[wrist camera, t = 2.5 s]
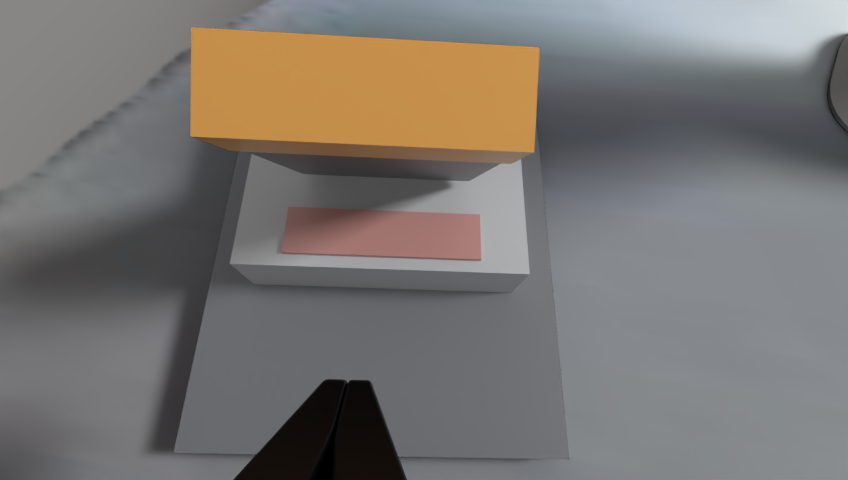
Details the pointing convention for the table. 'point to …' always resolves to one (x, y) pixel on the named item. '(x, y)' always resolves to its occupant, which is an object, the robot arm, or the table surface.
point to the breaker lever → (364, 102)
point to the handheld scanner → (840, 85)
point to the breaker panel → (382, 311)
